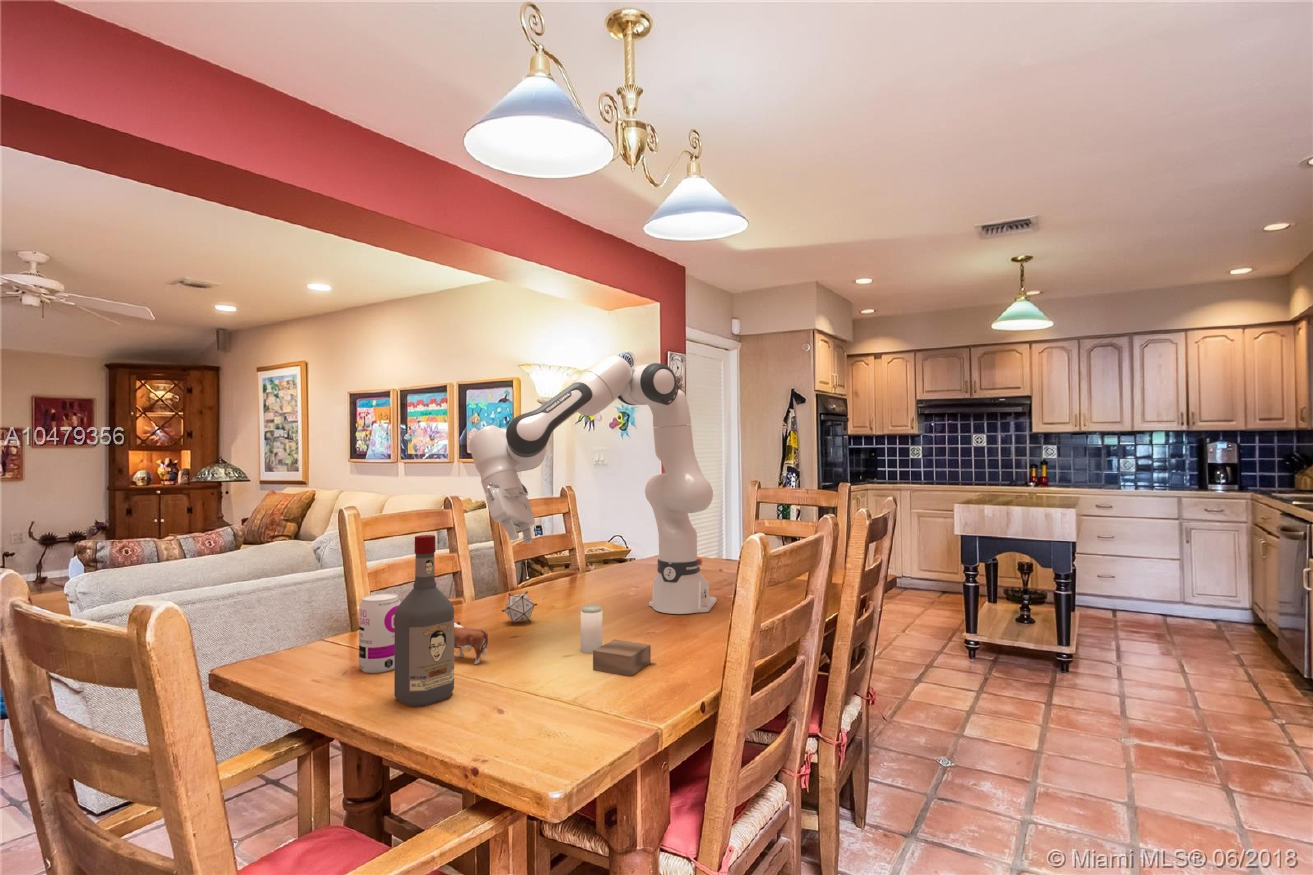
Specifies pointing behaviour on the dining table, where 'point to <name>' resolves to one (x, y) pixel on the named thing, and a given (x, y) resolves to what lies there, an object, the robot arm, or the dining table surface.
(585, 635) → the jar
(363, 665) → the supplement can
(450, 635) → the liquor
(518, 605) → the game die
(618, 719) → the dining table surface
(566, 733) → the dining table surface
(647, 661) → the plinth
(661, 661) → the dining table surface
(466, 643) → the bull figurine
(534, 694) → the dining table surface
